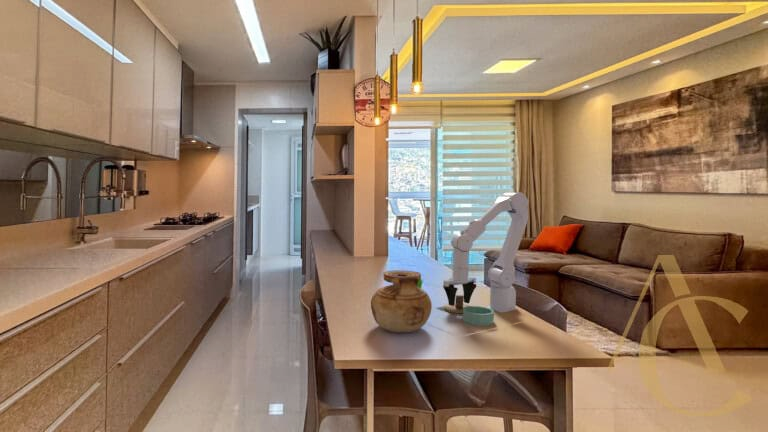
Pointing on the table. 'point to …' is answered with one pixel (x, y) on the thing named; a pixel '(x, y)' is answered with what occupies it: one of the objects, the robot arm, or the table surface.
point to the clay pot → (401, 303)
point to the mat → (449, 312)
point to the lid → (456, 306)
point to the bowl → (478, 315)
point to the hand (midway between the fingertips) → (459, 304)
